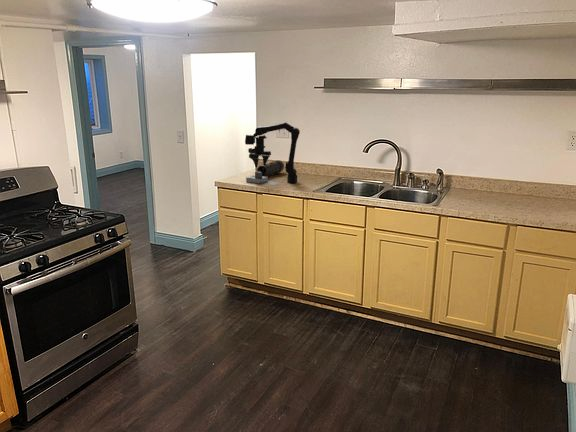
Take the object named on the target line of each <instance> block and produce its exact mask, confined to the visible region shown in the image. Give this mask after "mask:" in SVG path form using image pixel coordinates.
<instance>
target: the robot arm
mask: <svg viewBox="0 0 576 432" xmlns="http://www.w3.org/2000/svg"><path fill="white" fill-rule="evenodd" d="M283 129H285V130H286V131H288V133H290V134H291V135H290V137H291V138H290V139H291V142H290V149H289V155H288V160H287V161H286V162H285V166H284V169H285V172H286V173H287V176H286V177H287V178H286V180H287V181H286V184H292V185H295V184H298V183H299V181H298V174H297V173H298V170H296V169H295V154H296V148H297V142H298V139H299V136H300V134H301V133H300V131H301V130H300V129H299V128H298V127H294V126H293V125H291V124H289V123H288V122H286V121H285V122H283V123H279V124H274V125H268V126H265V125H263V126H257V127H256V128H255V131H254V133H253V134H246V135H245V139H244V143H245V145H247V146H249V145H253V148H252V147H250V148H248V150H247V151H248V153H249V154H248V158H249V159H251V160H252V161H253V164H254V167H255V168H258V167H259V165H258V164H259V160H260V157H262V165H264V166H265V164H267V163H268V160H269V158H270V157H271V155H272V152H271V151H270V150H265V148H266V145H265V139H267V138H268V137H267V136H266V135H265V134H267V133H270V132H274V131H279V130H283ZM254 144H255V146H254Z"/></svg>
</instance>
